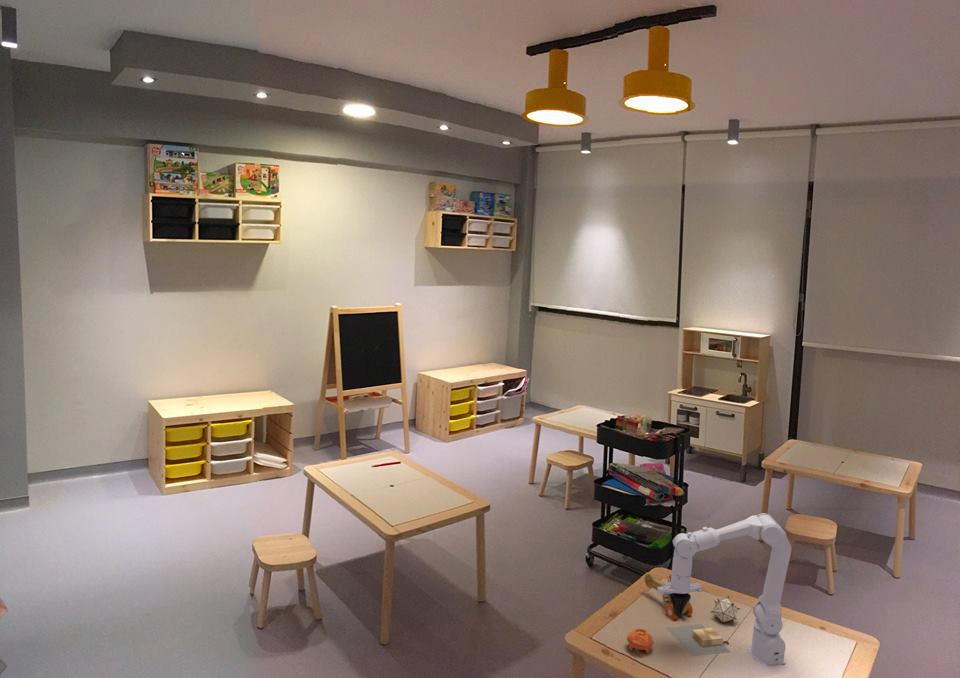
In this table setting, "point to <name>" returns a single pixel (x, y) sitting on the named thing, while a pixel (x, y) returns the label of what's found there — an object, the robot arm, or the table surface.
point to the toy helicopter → (666, 597)
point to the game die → (725, 610)
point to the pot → (640, 640)
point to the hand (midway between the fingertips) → (677, 614)
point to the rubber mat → (695, 641)
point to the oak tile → (707, 637)
